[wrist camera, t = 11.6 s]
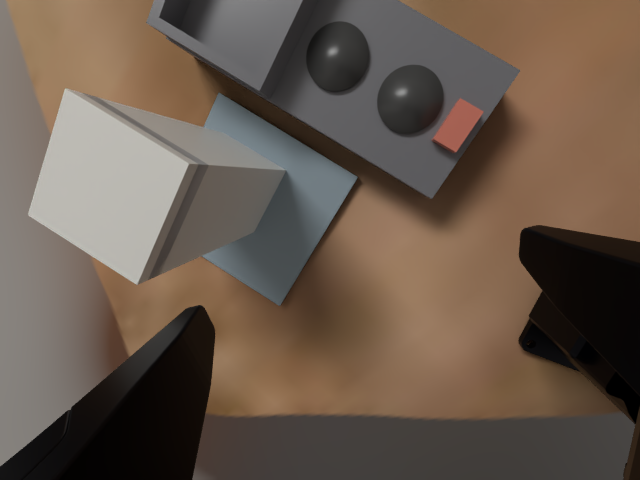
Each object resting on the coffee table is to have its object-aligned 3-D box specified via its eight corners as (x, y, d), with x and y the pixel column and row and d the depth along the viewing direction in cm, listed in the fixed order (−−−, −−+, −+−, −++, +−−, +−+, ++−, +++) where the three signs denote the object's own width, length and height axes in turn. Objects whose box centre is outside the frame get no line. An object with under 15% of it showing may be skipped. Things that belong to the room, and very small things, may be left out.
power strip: (499, 86, 16) (536, 58, 12) (424, 195, 18) (437, 201, 14) (241, -63, 17) (201, -133, 13) (193, 56, 19) (145, 24, 15)
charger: (286, 170, 19) (189, 163, 9) (254, 232, 20) (137, 285, 10) (224, 133, 19) (65, 88, 9) (196, 196, 20) (27, 214, 10)
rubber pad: (358, 177, 18) (357, 177, 18) (281, 303, 21) (279, 306, 21) (222, 94, 19) (218, 92, 19) (162, 227, 21) (158, 228, 21)
